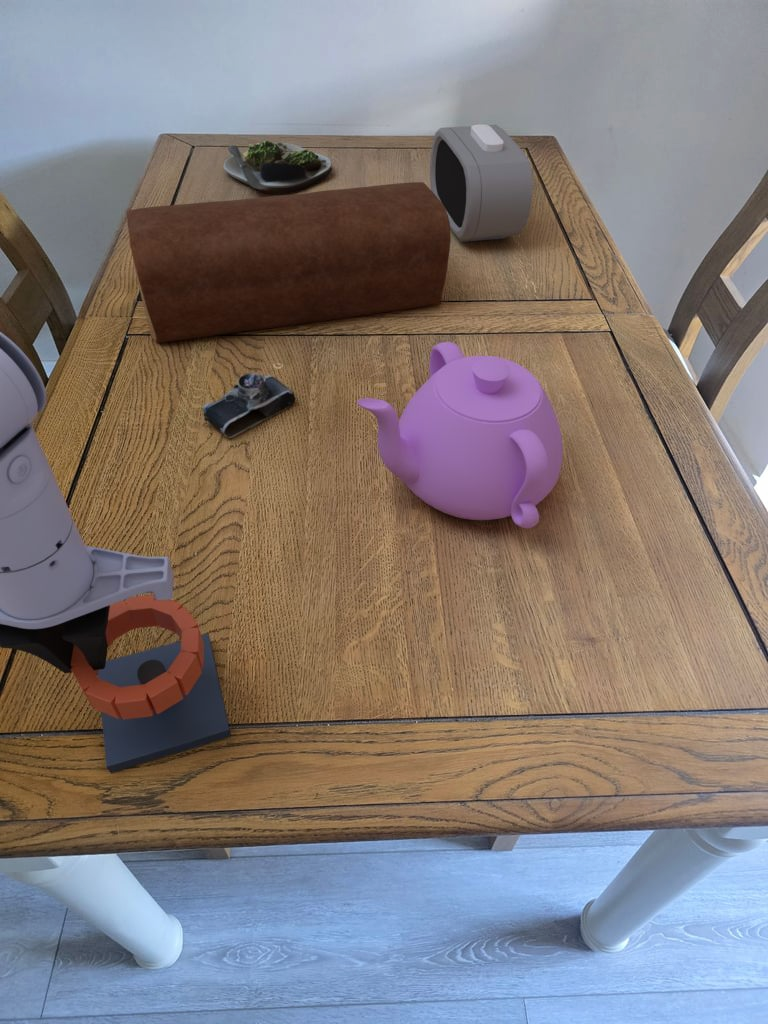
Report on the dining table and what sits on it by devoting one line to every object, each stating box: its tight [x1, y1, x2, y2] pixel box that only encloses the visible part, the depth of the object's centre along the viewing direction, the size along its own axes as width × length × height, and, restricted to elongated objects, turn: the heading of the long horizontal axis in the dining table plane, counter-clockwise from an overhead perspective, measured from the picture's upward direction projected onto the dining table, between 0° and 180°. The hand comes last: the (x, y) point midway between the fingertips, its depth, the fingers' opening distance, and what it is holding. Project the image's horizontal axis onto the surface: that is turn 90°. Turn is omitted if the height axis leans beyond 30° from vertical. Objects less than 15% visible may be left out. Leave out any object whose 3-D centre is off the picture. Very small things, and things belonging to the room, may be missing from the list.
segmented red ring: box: [71, 594, 204, 719], centre depth 50 cm, size 8×8×2 cm
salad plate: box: [223, 140, 333, 196], centre depth 123 cm, size 19×18×5 cm
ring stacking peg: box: [98, 633, 232, 774], centre depth 54 cm, size 9×9×5 cm
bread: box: [125, 181, 452, 344], centre depth 92 cm, size 16×39×13 cm, turn 107°
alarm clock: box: [429, 124, 534, 243], centre depth 109 cm, size 21×10×13 cm, turn 13°
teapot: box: [356, 341, 563, 529], centre depth 69 cm, size 22×22×14 cm
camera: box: [201, 372, 297, 439], centre depth 79 cm, size 5×10×4 cm, turn 133°
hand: (86, 658), depth 49 cm, fingers closed on segmented red ring, 1 cm apart
